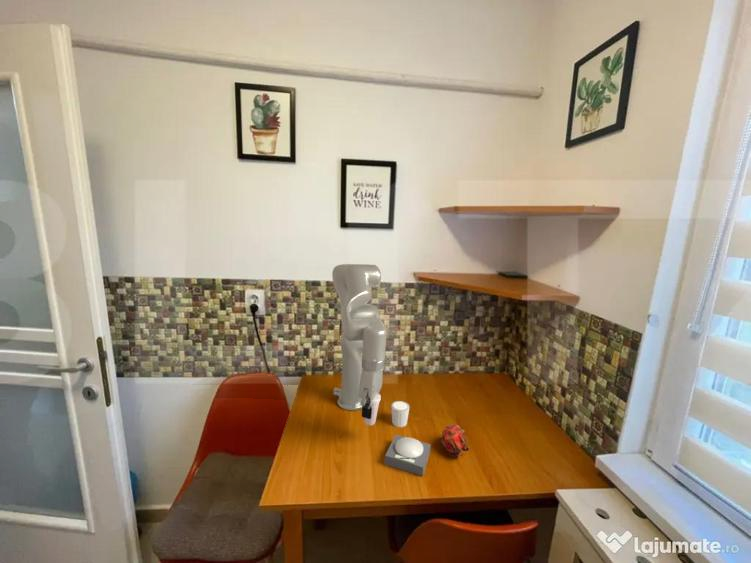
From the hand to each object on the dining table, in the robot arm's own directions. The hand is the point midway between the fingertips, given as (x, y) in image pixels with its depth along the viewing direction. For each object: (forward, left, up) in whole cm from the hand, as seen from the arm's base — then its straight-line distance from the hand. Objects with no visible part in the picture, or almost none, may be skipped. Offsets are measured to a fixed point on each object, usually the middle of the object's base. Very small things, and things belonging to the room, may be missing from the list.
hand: (370, 411), depth 105 cm
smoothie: (0, 0, -4) cm, 4 cm away
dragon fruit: (+28, +7, -11) cm, 31 cm away
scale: (+15, -3, -11) cm, 18 cm away
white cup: (+7, +14, -11) cm, 19 cm away
